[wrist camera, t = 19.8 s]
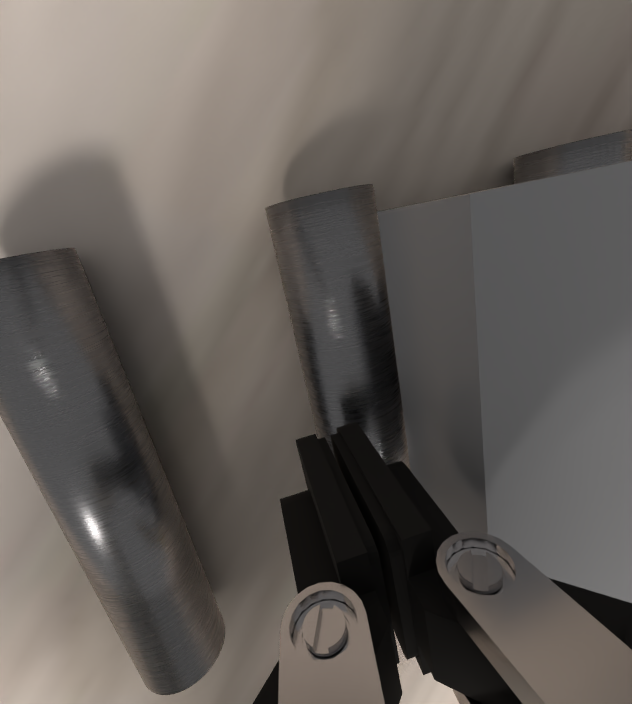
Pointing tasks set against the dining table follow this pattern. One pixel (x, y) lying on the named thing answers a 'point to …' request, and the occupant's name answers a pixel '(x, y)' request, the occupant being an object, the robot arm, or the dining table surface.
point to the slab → (522, 365)
